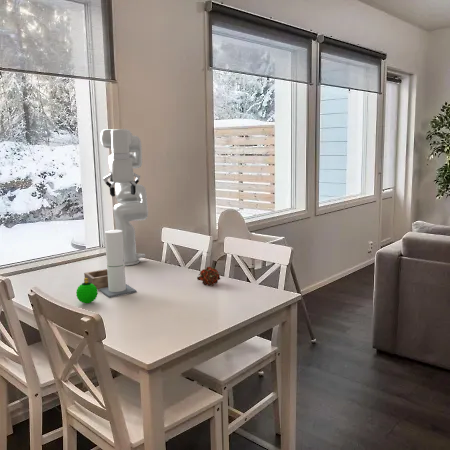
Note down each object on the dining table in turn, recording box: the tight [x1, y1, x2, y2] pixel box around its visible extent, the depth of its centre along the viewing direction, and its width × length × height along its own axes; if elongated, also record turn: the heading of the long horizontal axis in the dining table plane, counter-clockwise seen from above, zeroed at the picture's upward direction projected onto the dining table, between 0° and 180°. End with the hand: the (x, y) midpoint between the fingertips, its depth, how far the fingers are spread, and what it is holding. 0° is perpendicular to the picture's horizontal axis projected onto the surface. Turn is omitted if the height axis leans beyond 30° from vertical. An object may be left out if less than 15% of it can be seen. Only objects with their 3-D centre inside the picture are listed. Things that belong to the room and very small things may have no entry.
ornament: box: [76, 277, 99, 304], centre depth 187 cm, size 8×8×10 cm
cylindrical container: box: [104, 229, 127, 292], centre depth 199 cm, size 7×7×25 cm
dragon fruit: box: [196, 266, 221, 287], centre depth 208 cm, size 8×8×12 cm
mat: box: [98, 283, 137, 299], centre depth 201 cm, size 12×12×1 cm
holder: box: [83, 268, 109, 290], centre depth 211 cm, size 11×11×5 cm
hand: (123, 195), depth 216 cm, fingers open, 9 cm apart
